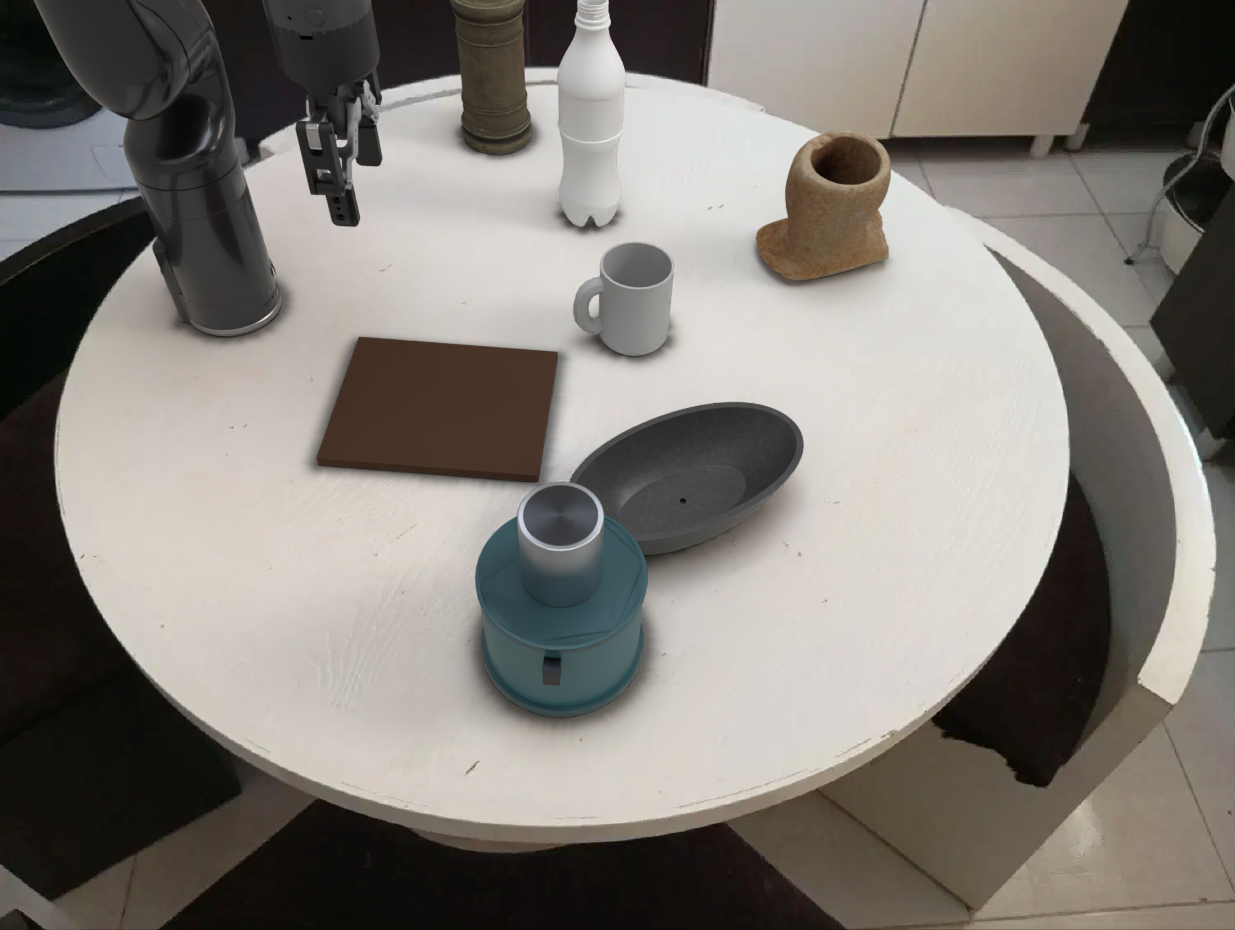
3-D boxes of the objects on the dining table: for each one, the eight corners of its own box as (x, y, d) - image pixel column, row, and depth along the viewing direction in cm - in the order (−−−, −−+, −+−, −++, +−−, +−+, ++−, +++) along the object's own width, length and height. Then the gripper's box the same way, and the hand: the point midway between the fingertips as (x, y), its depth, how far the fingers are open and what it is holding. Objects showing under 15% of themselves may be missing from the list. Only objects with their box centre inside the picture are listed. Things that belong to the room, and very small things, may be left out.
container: (505, 163, 121) (496, 18, 107) (446, 139, 124) (430, -5, 110) (547, 130, 126) (543, -14, 112) (490, 107, 129) (479, -35, 115)
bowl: (822, 514, 88) (836, 470, 83) (604, 614, 81) (606, 571, 76) (746, 423, 95) (756, 378, 90) (539, 508, 87) (537, 463, 83)
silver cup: (516, 604, 69) (511, 546, 64) (526, 537, 73) (523, 477, 68) (598, 611, 69) (600, 553, 64) (605, 543, 73) (607, 483, 68)
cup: (677, 350, 101) (684, 282, 94) (582, 368, 99) (583, 300, 92) (655, 304, 105) (661, 236, 98) (564, 321, 103) (563, 252, 96)
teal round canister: (467, 718, 75) (455, 653, 67) (496, 562, 84) (488, 489, 76) (637, 732, 74) (645, 669, 67) (647, 574, 83) (655, 502, 76)
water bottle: (632, 210, 116) (644, -5, 96) (598, 241, 112) (603, 24, 92) (581, 188, 118) (582, -25, 99) (546, 219, 114) (540, 2, 95)
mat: (318, 465, 90) (315, 458, 89) (360, 343, 100) (358, 336, 99) (538, 482, 89) (537, 475, 88) (557, 358, 99) (557, 351, 99)
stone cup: (787, 306, 106) (813, 186, 94) (742, 239, 113) (761, 120, 101) (911, 279, 109) (951, 160, 98) (860, 216, 116) (892, 98, 105)
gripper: (293, -44, 76) (335, 144, 89) (235, 49, 67) (292, 243, 80) (389, -39, 76) (419, 148, 88) (345, 54, 67) (385, 248, 79)
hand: (359, 193), depth 84 cm, fingers open, 8 cm apart
